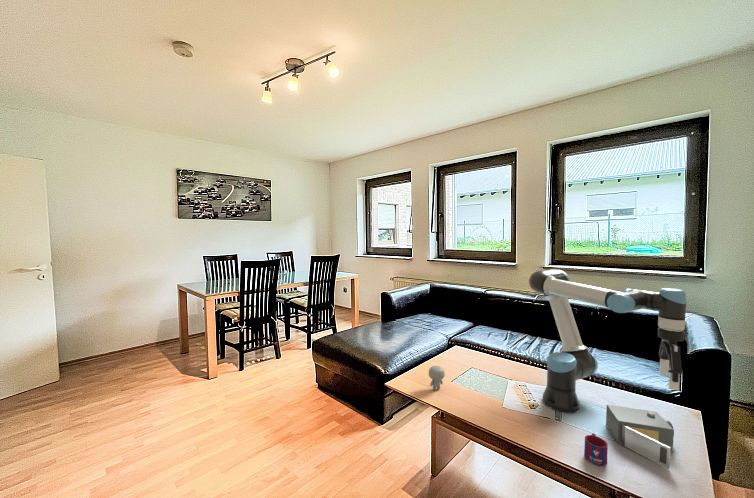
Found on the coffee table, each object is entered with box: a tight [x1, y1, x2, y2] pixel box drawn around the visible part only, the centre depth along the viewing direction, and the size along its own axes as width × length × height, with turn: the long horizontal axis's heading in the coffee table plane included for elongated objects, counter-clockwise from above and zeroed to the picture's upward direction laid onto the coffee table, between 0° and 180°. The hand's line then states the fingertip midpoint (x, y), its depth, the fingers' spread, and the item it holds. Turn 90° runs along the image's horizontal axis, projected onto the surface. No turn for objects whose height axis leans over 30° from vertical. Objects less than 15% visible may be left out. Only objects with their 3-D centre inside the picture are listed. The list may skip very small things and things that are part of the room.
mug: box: [583, 433, 609, 467], centre depth 113 cm, size 7×10×7 cm
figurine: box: [428, 365, 446, 391], centre depth 161 cm, size 8×8×12 cm
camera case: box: [605, 404, 675, 454], centre depth 122 cm, size 19×12×10 cm, turn 71°
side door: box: [621, 425, 671, 470], centre depth 112 cm, size 14×2×8 cm, turn 26°
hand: (668, 382), depth 121 cm, fingers open, 13 cm apart
